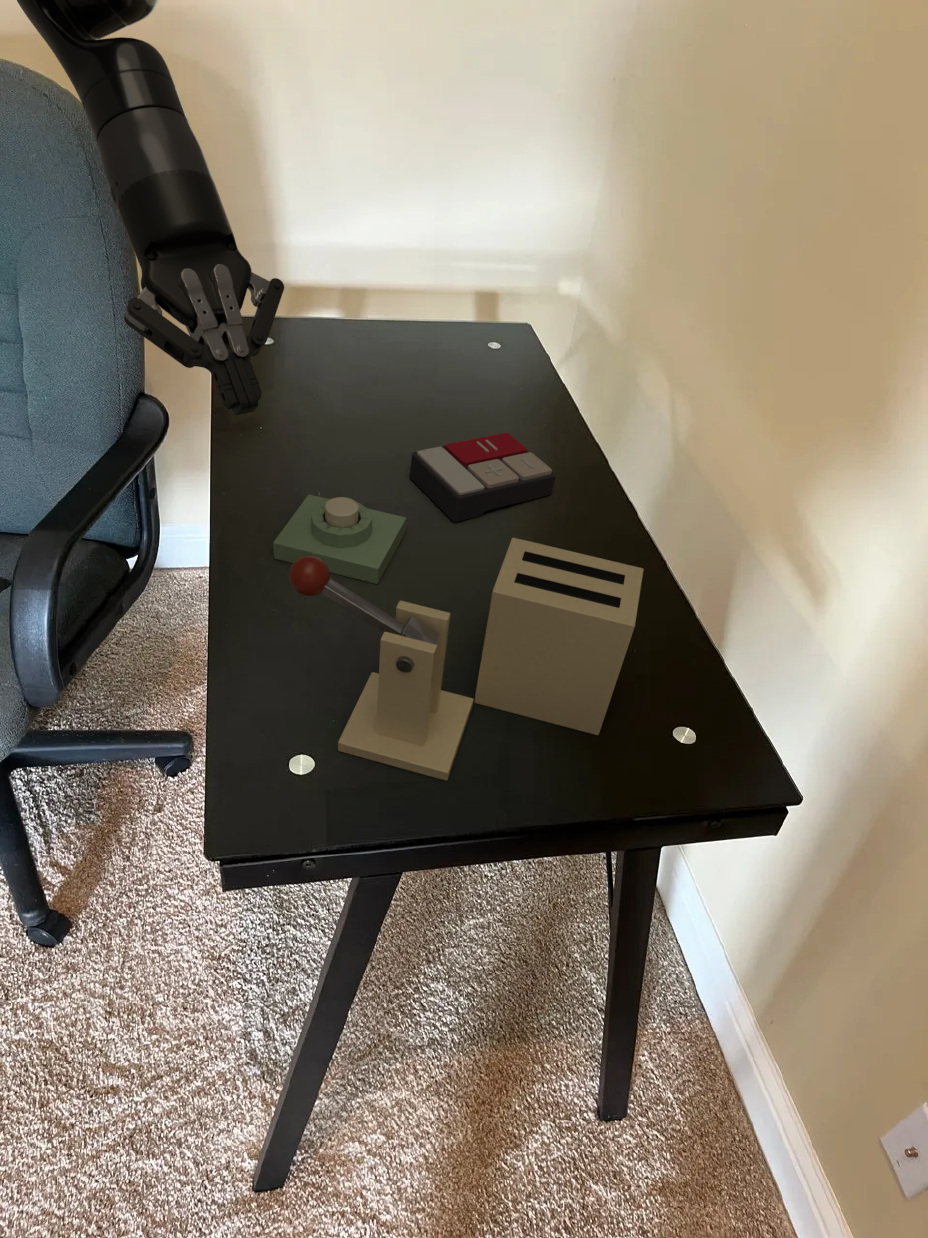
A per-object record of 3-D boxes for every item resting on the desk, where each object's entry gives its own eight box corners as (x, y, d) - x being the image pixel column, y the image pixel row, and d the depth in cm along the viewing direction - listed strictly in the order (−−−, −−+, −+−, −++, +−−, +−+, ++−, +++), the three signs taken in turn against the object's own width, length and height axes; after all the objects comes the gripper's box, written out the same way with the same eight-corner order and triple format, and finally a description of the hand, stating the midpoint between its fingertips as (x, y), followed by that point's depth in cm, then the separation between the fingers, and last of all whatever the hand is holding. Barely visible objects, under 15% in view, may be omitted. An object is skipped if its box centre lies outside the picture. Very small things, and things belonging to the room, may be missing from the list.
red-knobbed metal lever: (276, 589, 65) (291, 564, 63) (292, 565, 68) (307, 541, 66) (414, 674, 68) (433, 653, 66) (425, 648, 70) (443, 627, 68)
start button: (320, 524, 90) (320, 511, 89) (332, 506, 93) (332, 493, 91) (351, 532, 90) (351, 519, 88) (362, 514, 92) (363, 501, 91)
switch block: (273, 558, 91) (271, 529, 88) (308, 509, 98) (308, 480, 95) (377, 584, 89) (378, 555, 86) (405, 532, 96) (407, 504, 94)
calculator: (559, 469, 103) (459, 492, 96) (551, 498, 106) (453, 523, 98) (508, 428, 109) (411, 446, 102) (503, 456, 112) (407, 476, 105)
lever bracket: (337, 751, 72) (337, 647, 64) (371, 680, 79) (375, 577, 70) (447, 781, 71) (462, 680, 62) (472, 706, 78) (489, 605, 69)
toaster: (473, 703, 78) (492, 589, 68) (492, 647, 84) (512, 535, 74) (598, 735, 77) (635, 625, 67) (608, 676, 82) (644, 566, 73)
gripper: (80, 171, 57) (173, 413, 58) (259, 159, 63) (338, 377, 65) (72, 227, 63) (156, 443, 65) (235, 211, 70) (308, 408, 71)
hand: (247, 410), depth 65 cm, fingers closed
